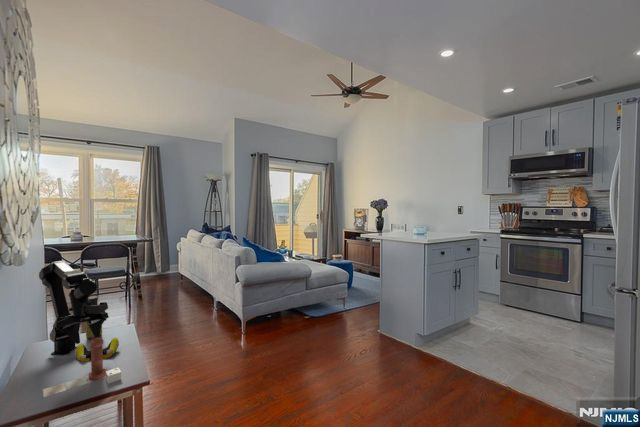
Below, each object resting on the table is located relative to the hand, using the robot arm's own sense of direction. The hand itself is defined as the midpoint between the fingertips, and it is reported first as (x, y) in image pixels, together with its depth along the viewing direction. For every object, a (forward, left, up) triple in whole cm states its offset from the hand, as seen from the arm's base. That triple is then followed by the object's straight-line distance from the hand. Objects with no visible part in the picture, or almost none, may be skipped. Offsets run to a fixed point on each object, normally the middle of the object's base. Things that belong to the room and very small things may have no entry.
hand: (88, 341), depth 118 cm
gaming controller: (-4, +10, -12) cm, 16 cm away
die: (+15, -7, -11) cm, 20 cm away
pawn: (+8, -6, -10) cm, 14 cm away
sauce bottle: (-18, +26, -12) cm, 33 cm away
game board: (+2, -8, -11) cm, 14 cm away
